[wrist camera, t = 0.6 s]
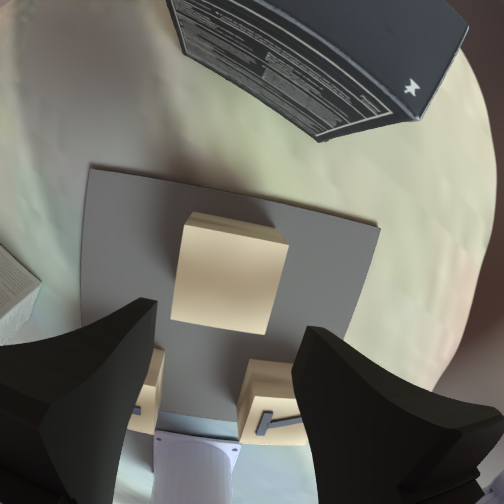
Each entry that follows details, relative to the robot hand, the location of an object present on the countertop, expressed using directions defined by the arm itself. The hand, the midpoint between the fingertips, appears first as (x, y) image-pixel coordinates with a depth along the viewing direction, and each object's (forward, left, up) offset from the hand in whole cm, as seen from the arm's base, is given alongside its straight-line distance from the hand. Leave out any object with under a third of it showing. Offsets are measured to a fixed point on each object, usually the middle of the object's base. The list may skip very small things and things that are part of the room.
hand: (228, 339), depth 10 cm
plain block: (0, 0, -9) cm, 9 cm away
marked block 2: (-9, -6, -9) cm, 14 cm away
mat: (-5, 0, -9) cm, 11 cm away
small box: (+13, -1, -10) cm, 16 cm away
